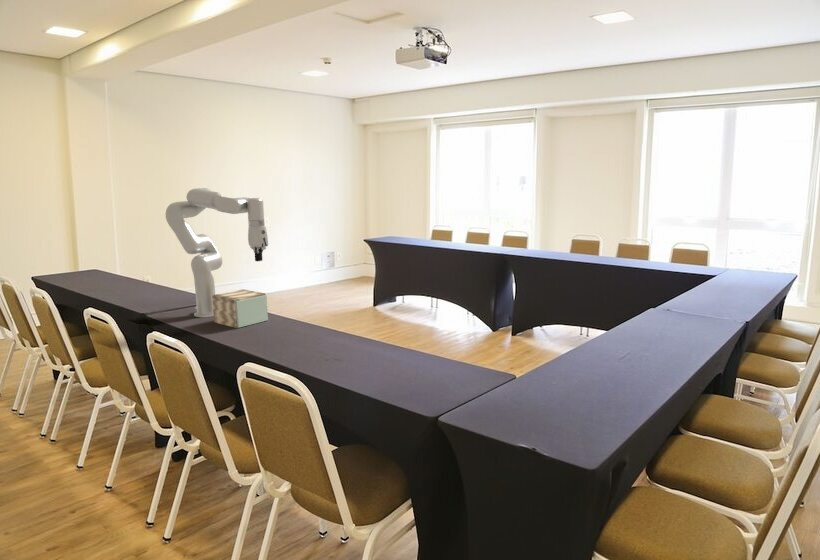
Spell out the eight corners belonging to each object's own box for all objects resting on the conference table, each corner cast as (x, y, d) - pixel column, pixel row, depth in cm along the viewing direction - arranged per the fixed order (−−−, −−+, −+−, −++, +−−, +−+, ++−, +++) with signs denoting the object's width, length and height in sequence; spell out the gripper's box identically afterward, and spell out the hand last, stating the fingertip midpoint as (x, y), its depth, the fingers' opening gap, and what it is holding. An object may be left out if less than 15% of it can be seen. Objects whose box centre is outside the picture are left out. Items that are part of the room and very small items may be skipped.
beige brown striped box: (214, 322, 282) (212, 295, 279) (245, 314, 296) (243, 289, 293) (236, 328, 271) (234, 300, 268) (267, 320, 285) (265, 293, 282)
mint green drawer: (217, 322, 281) (215, 297, 279) (246, 315, 294) (244, 291, 292) (238, 327, 270) (236, 301, 268) (268, 320, 283) (266, 295, 281)
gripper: (272, 223, 278) (274, 261, 281) (253, 222, 287) (255, 258, 290) (259, 225, 272) (262, 263, 276) (240, 223, 281) (243, 260, 285)
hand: (258, 260), depth 283 cm, fingers closed
